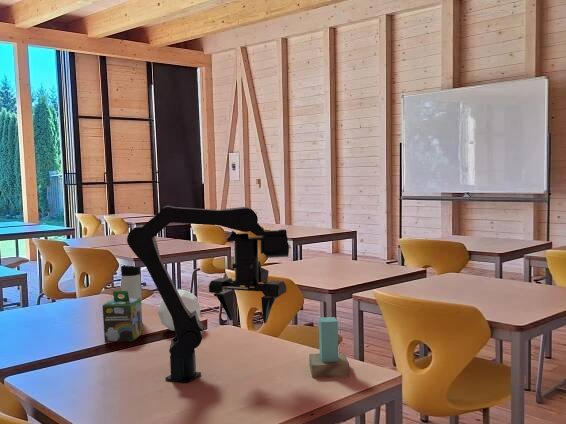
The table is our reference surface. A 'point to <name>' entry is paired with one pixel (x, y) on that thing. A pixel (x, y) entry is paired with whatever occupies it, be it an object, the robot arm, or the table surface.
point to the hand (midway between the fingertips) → (248, 321)
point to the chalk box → (122, 318)
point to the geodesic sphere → (189, 302)
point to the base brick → (328, 366)
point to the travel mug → (131, 281)
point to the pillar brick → (328, 339)
